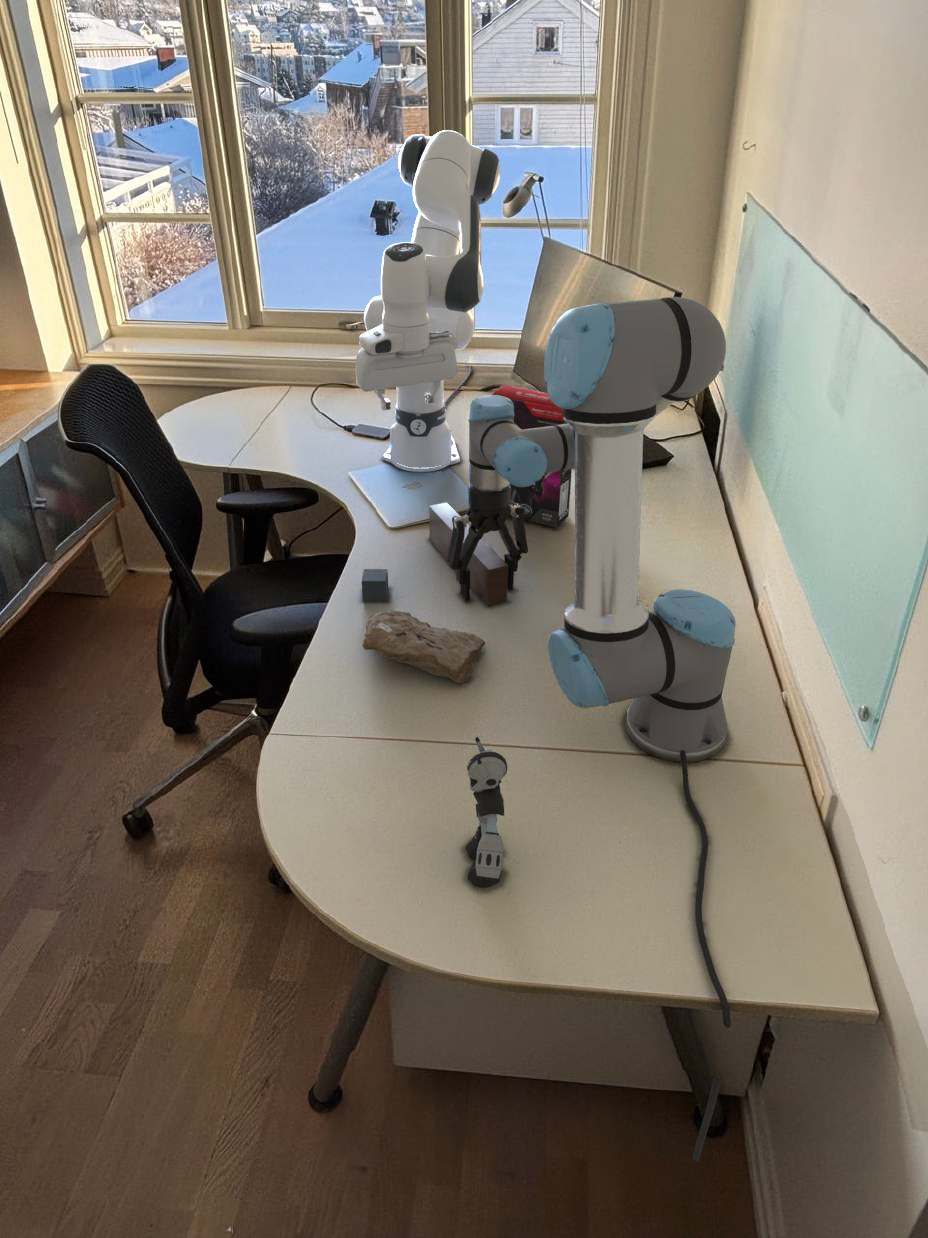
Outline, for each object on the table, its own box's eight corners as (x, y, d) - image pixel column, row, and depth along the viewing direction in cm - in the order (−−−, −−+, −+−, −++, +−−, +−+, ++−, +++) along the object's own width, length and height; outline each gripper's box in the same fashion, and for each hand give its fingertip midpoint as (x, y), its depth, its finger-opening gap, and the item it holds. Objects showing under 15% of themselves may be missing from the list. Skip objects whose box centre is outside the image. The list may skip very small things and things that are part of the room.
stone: (339, 657, 153) (345, 625, 150) (371, 626, 166) (378, 596, 164) (457, 699, 149) (466, 667, 147) (481, 664, 163) (489, 634, 160)
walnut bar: (507, 601, 173) (508, 565, 169) (487, 606, 172) (488, 569, 168) (447, 536, 194) (446, 502, 190) (429, 540, 193) (429, 505, 189)
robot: (509, 924, 113) (515, 806, 101) (469, 925, 112) (471, 808, 101) (496, 807, 129) (501, 695, 118) (462, 808, 129) (463, 696, 118)
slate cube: (386, 601, 173) (385, 581, 171) (362, 601, 173) (361, 581, 171) (388, 589, 177) (387, 568, 174) (365, 588, 177) (363, 568, 174)
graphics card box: (486, 512, 203) (488, 393, 188) (499, 500, 208) (503, 382, 193) (557, 530, 197) (566, 407, 181) (570, 517, 202) (579, 396, 187)
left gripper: (449, 325, 181) (449, 393, 189) (350, 337, 174) (354, 407, 182) (462, 333, 176) (462, 403, 184) (361, 347, 169) (365, 418, 177)
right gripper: (532, 465, 170) (526, 570, 183) (426, 485, 162) (427, 594, 175) (552, 481, 164) (545, 589, 177) (443, 503, 157) (443, 614, 169)
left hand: (408, 405), depth 183 cm, fingers open, 8 cm apart
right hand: (486, 591), depth 176 cm, fingers open, 8 cm apart
